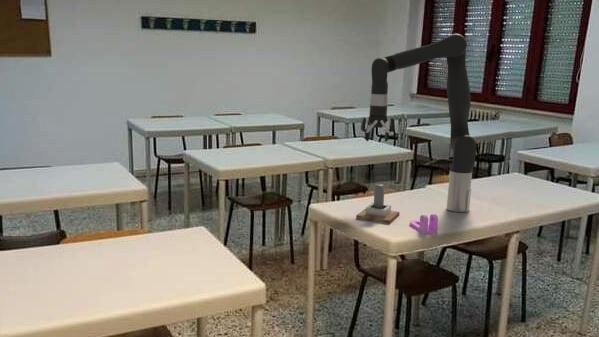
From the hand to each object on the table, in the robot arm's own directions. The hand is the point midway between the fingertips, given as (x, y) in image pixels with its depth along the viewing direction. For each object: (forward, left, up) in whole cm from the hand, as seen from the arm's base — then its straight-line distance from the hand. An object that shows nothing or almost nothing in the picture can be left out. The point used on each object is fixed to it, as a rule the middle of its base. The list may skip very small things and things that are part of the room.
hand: (376, 141), depth 239 cm
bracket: (-28, +27, -28) cm, 48 cm away
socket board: (-9, +21, -28) cm, 36 cm away
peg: (-9, +21, -27) cm, 35 cm away
